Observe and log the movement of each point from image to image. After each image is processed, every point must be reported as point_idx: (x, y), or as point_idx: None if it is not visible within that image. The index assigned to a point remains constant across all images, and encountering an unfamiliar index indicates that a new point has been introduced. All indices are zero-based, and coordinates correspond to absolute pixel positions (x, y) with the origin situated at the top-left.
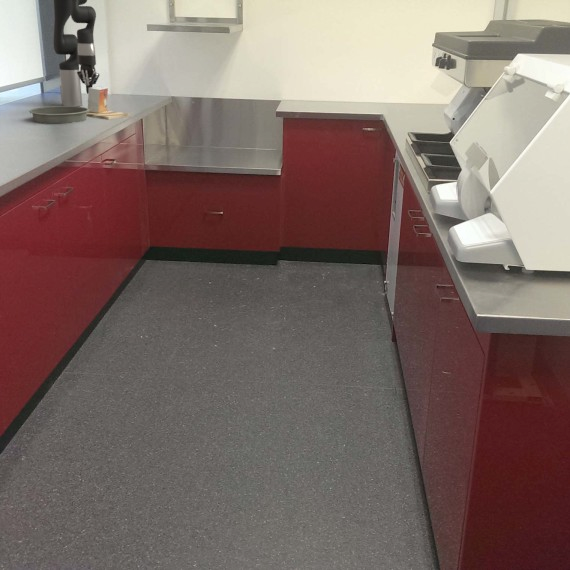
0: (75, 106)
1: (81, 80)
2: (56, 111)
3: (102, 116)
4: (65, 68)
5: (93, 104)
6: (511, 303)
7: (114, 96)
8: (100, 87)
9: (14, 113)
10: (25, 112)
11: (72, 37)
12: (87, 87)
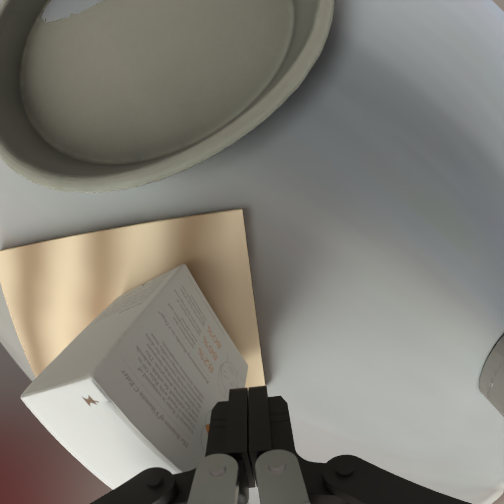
0: (185, 157)
1: (382, 478)
2: (293, 53)
3: (24, 245)
4: None
5: (123, 304)
6: None
7: (481, 493)
8: None
9: (480, 13)
10: (491, 59)
11: None
12: (244, 433)
